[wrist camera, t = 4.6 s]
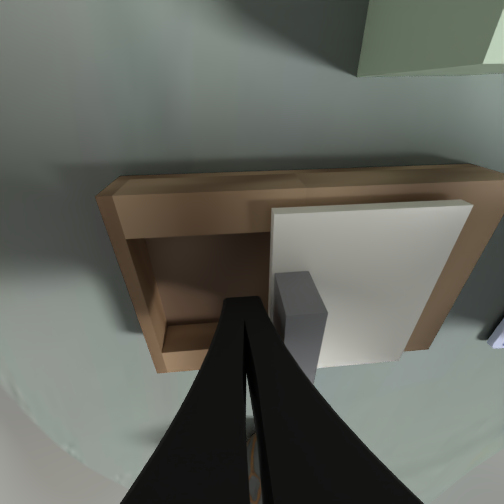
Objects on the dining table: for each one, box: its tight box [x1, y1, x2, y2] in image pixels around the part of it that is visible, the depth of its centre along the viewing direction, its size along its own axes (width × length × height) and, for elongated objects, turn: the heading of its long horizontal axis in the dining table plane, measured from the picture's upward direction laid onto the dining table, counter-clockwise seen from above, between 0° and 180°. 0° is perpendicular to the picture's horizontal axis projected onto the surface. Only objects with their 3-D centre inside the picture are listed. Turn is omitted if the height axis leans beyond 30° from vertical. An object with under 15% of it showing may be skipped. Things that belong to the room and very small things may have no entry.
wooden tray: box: [95, 164, 504, 373], centre depth 12 cm, size 14×9×2 cm, turn 90°
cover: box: [268, 199, 473, 384], centre depth 9 cm, size 6×8×2 cm
